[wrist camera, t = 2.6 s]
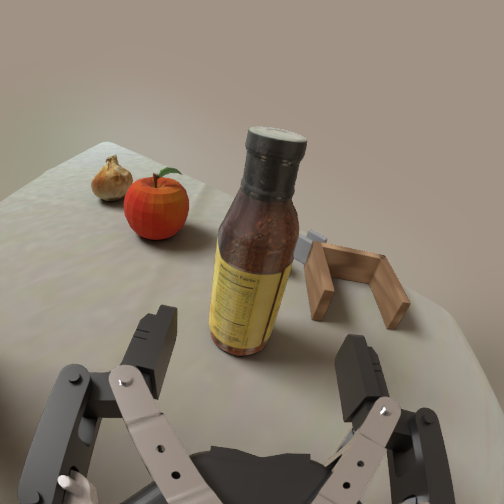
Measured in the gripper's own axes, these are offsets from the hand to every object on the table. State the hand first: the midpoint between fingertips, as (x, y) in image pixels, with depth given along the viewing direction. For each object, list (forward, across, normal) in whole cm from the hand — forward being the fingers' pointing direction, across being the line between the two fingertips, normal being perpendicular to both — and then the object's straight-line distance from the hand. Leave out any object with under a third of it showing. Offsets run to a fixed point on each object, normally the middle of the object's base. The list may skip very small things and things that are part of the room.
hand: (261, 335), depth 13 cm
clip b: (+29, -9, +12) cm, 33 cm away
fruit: (+28, +14, +12) cm, 34 cm away
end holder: (+20, -14, +13) cm, 28 cm away
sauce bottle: (+11, 0, +13) cm, 17 cm away
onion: (+37, +26, +12) cm, 47 cm away
